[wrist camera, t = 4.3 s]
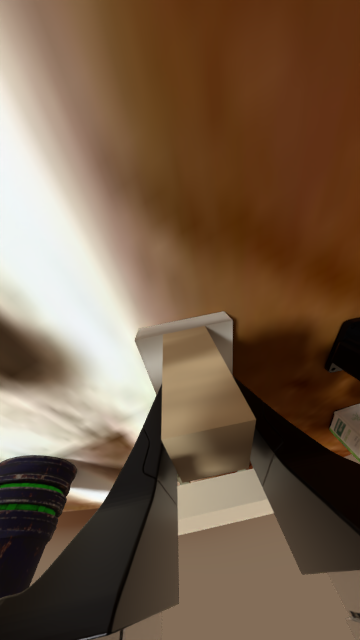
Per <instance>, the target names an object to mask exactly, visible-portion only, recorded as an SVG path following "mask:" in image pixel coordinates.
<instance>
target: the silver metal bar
mask: <svg viewBox="0 0 360 640" xmlns="http://www.w3.org/2000/svg"><path fill="white" fill-rule="evenodd" d="M135 342H136V345H137V347H138V350H139V352H140V355H141V357H142V360H143V362H144V365H145V367H146V370H147V372H148V375H149V377H150V380H151V382H152V385H153V387H154V390H155V392H156V395H157V393H158V391H159V389H160V386H161V384H162V425H161V440H162V442H163V444H164V446H165V448H166V450H167V452H168V454H169V456H170V458H171V460H172V463H173V465H174V467H175V469H176V471H177V473H178V475H179V477H180V479H181V481H182V483H184V482H188V481H193V480H197V479H202V478H206V477H211V476H215V475H220V474H225V473H229V472H234V471H238V470H243V469H247V468H249V463H250V456H251V450H252V443H253V437H254V430H255V424H256V418H255V416H254V415H253V413H252V411H251V409H250V407H249V405H248V404H247V402H246V400H245V398H244V396H243V394H242V393H241V391H240V389H239V387H238V385H237V384H236V382H235V380H234V378H233V320H232V319H231V318H230V317H229V316H228V315H227V314H226V313H225V312H224V311H223V312H218V313H214V314H209V315H204V316H199V317H194V318H189V319H184V320H179V321H174V322H169V323H164V324H159V325H154V326H150V327H145V328H140V329H138V332H137V335H136V338H135Z"/></svg>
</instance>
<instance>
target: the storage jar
mask: <svg viewBox="0 0 360 640" xmlns="http://www.w3.org/2000/svg"><path fill="white" fill-rule="evenodd" d="M76 473H77V469H76V467H75V466H74V465H73V464H72V463H70V462H68V461H66V460H63V459H59V458H55V457H49V456H36V455H34V456H20V457H14V458H11V459H7V460H5V461H3V462H1V463H0V598H2V597H5V596H9V595H14V594H18V593H20V592H23V591H24V590H26V589H27V588H29V586H30V583H31V581H32V578H33V576H34V573H35V571H36V568H37V565H38V563H39V561H40V558H41V556H42V553H43V551H44V548H45V546H46V544H47V543H48V542H49V541H50V539H51V538H52V535H53V533H54V531H55V529H56V525H57V522H58V517H59V516H60V515H61V514H62V510H63V509H64V506H65V503H66V500H67V499H66V496H67V495H68V493H69V491H70V485H71V483H72V481H73V480H74V478H75V475H76Z"/></svg>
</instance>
